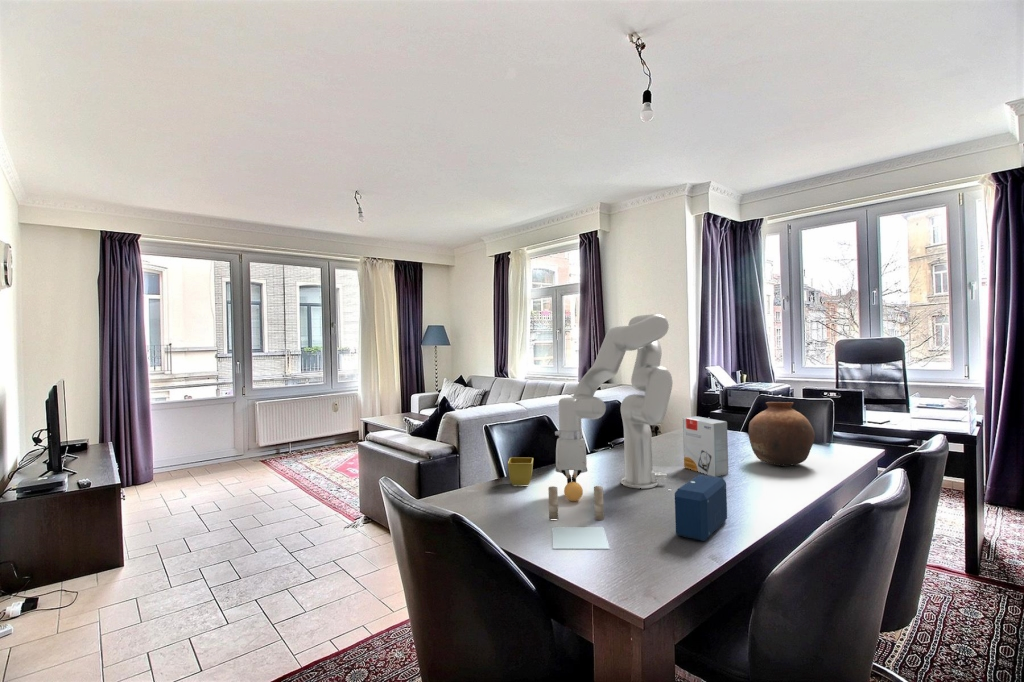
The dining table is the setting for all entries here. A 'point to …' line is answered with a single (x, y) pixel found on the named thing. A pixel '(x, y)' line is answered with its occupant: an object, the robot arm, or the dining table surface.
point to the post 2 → (598, 503)
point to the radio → (700, 507)
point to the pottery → (781, 435)
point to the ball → (573, 491)
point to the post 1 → (553, 502)
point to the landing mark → (579, 538)
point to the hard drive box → (705, 445)
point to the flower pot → (520, 470)
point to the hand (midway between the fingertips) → (571, 489)
